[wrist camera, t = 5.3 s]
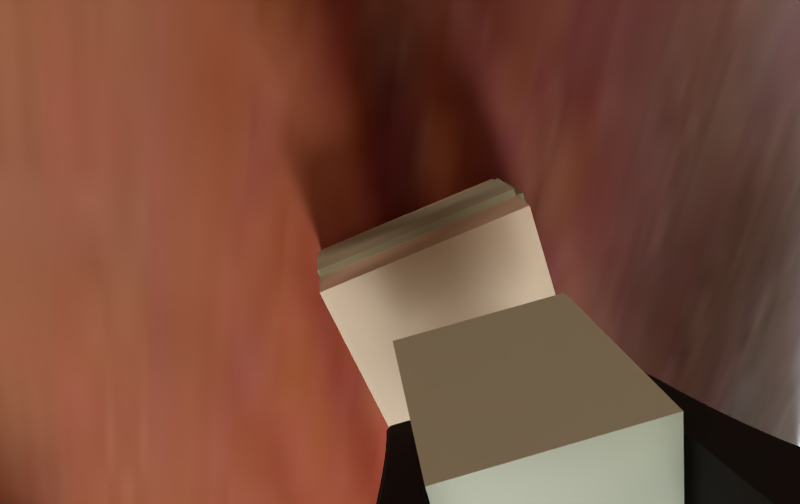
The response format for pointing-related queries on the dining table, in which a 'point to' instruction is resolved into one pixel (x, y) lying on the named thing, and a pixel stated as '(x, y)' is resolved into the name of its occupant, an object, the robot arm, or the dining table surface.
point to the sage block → (538, 412)
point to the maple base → (430, 277)
